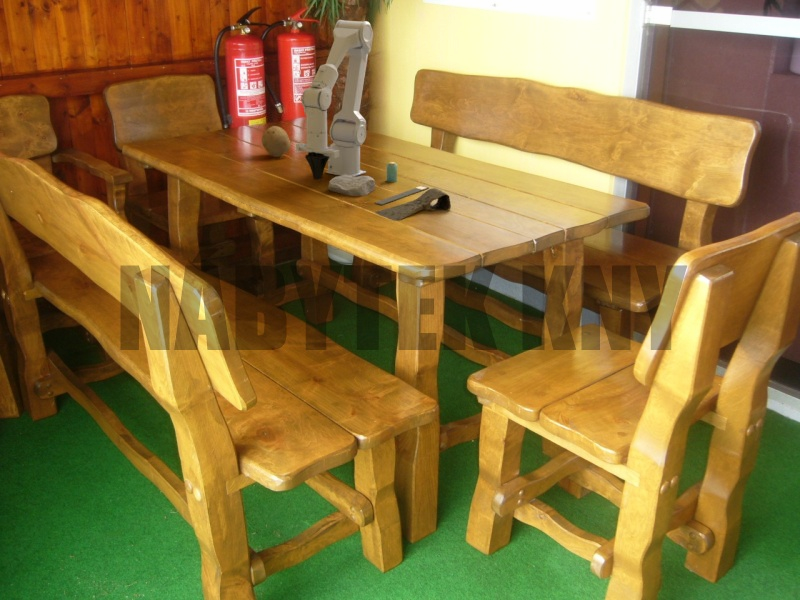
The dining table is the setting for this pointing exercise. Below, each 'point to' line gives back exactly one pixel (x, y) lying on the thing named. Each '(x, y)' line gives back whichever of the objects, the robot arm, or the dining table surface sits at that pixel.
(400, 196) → the bar
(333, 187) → the stone block
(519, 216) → the dining table surface
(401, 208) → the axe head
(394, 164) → the teal cylinder cream end
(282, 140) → the brown oval lump
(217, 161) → the dining table surface
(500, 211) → the dining table surface
